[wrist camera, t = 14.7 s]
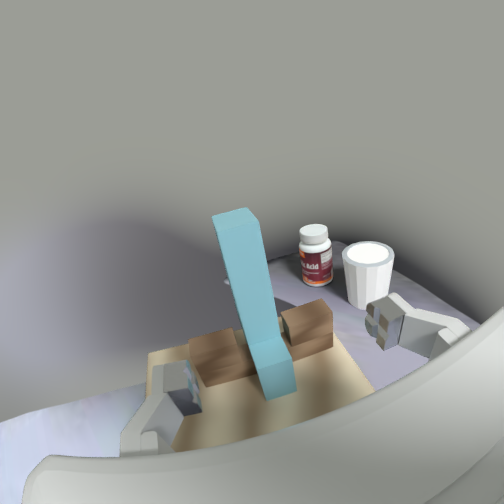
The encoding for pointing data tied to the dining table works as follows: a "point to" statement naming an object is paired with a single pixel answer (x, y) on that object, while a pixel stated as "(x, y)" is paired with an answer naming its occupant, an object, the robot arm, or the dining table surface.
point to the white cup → (367, 272)
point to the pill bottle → (316, 255)
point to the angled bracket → (255, 299)
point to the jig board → (248, 384)
